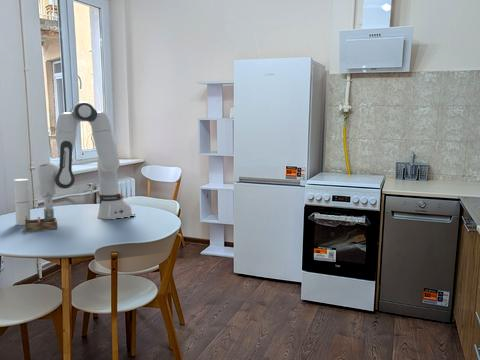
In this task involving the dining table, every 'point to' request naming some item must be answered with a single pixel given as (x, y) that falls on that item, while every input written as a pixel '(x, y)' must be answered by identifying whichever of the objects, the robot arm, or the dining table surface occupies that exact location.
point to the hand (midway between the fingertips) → (49, 215)
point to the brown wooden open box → (40, 224)
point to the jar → (47, 215)
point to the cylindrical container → (21, 200)
